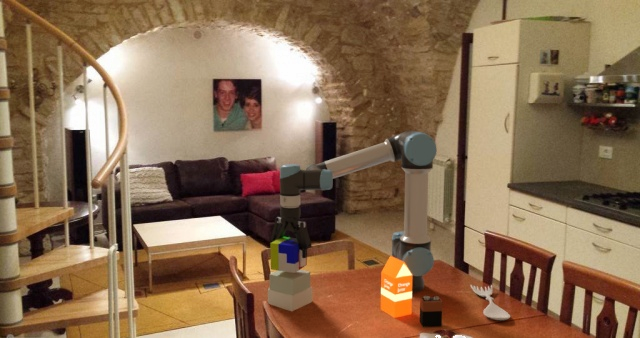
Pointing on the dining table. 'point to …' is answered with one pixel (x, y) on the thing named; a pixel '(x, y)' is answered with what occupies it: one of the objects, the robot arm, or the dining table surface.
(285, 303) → the tower base
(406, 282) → the orange juice
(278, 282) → the tower top
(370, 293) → the dining table surface
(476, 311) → the dining table surface
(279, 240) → the puzzle toy
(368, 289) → the dining table surface
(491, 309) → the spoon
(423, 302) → the battery
